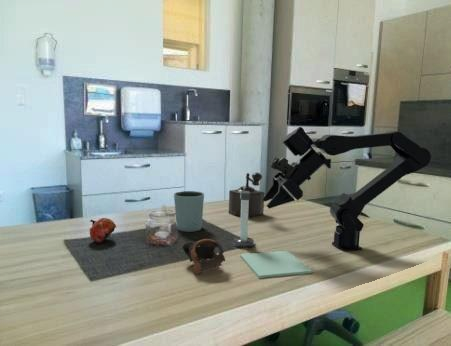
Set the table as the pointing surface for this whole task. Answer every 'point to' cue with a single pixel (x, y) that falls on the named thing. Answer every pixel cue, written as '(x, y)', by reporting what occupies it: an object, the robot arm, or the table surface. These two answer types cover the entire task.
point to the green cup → (189, 210)
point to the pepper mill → (255, 198)
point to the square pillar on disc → (244, 223)
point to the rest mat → (274, 264)
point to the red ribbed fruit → (101, 229)
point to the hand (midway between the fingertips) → (265, 203)
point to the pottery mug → (204, 254)
